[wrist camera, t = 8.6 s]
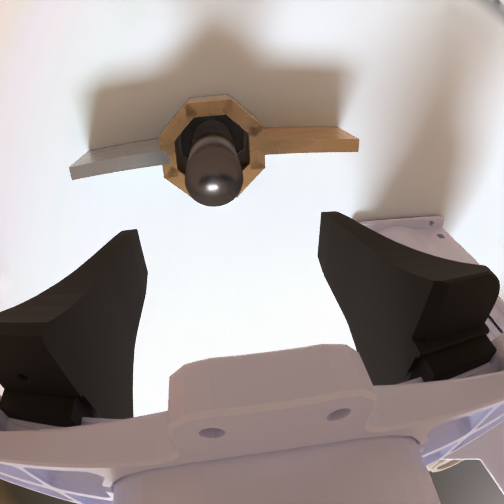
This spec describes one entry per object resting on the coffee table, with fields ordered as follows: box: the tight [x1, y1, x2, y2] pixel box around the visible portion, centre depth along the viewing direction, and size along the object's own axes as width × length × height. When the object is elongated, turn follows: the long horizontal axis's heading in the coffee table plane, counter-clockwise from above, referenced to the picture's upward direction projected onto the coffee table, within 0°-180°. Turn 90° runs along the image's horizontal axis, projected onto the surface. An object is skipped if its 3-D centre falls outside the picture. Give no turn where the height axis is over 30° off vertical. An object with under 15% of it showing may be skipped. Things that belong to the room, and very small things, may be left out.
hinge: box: [69, 94, 359, 197], centre depth 18 cm, size 17×6×4 cm, turn 92°
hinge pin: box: [185, 120, 243, 206], centre depth 16 cm, size 2×2×8 cm
